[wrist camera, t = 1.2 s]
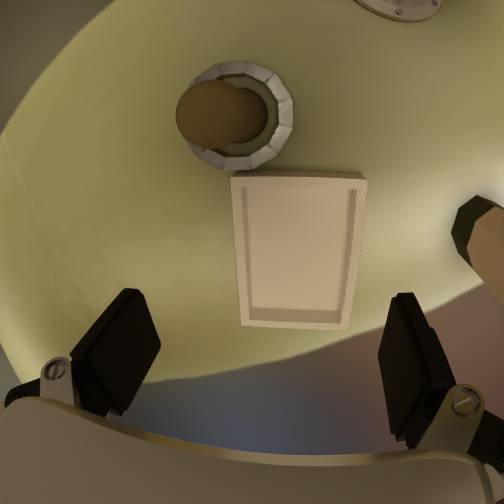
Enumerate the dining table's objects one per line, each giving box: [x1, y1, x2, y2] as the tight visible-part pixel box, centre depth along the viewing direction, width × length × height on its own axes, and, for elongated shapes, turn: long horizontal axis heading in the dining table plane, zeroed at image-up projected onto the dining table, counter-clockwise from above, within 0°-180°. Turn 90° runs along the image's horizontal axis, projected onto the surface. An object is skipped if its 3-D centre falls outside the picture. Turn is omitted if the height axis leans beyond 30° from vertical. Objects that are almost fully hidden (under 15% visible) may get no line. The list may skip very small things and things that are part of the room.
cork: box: [176, 80, 268, 149], centre depth 22 cm, size 6×6×11 cm
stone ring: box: [182, 61, 294, 170], centre depth 26 cm, size 11×11×2 cm
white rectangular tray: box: [230, 171, 368, 330], centre depth 31 cm, size 18×13×3 cm
